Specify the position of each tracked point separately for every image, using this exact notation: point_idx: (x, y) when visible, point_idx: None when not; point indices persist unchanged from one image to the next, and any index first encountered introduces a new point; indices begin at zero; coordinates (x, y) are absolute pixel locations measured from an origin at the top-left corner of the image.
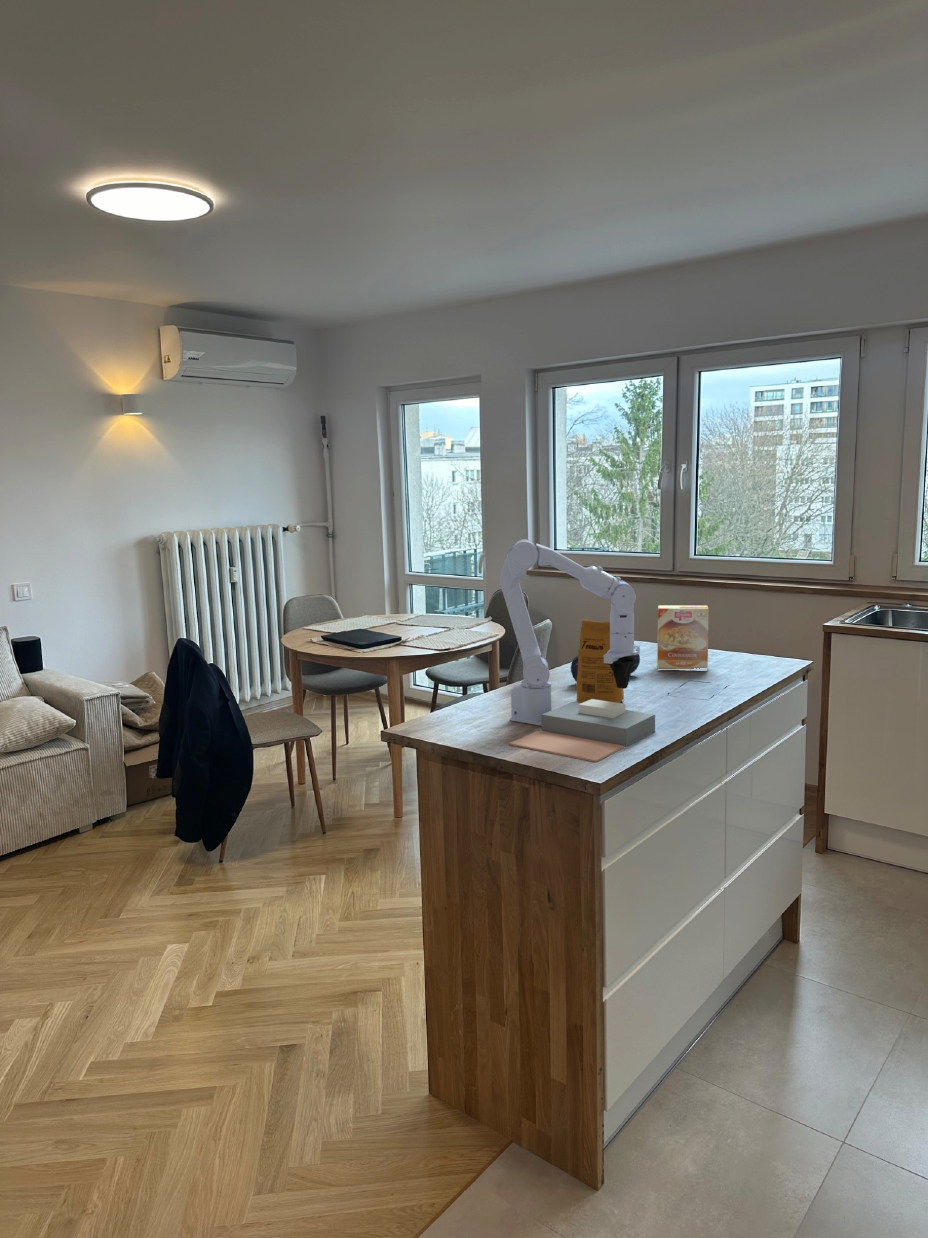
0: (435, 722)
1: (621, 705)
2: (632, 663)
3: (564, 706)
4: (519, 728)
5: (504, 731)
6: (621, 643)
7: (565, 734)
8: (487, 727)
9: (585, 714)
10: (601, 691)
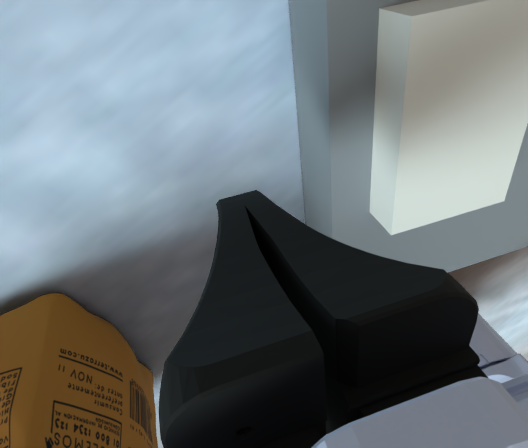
0: None
1: (459, 11)
2: (281, 319)
3: None
4: (482, 264)
5: (519, 263)
6: None
7: None
8: (498, 307)
9: None
10: (109, 374)
